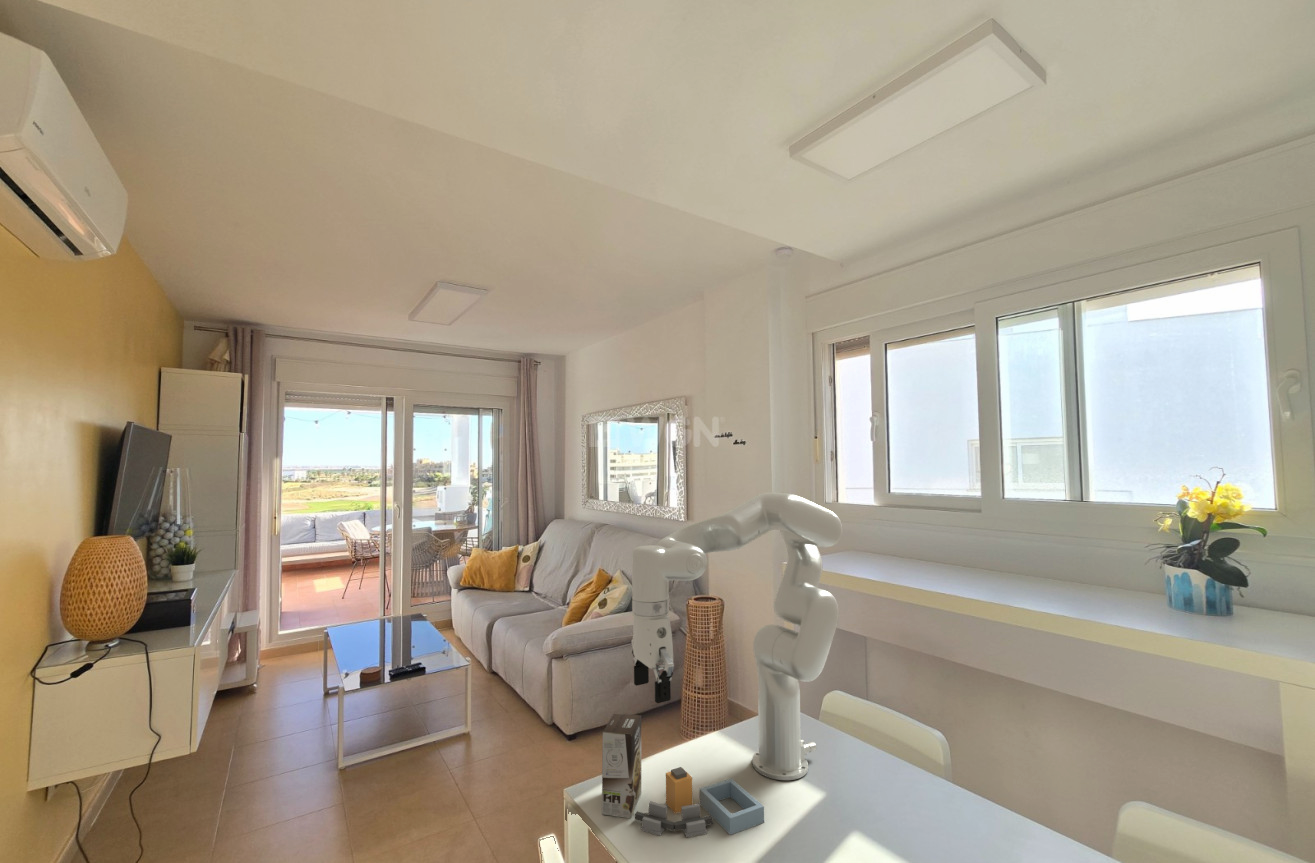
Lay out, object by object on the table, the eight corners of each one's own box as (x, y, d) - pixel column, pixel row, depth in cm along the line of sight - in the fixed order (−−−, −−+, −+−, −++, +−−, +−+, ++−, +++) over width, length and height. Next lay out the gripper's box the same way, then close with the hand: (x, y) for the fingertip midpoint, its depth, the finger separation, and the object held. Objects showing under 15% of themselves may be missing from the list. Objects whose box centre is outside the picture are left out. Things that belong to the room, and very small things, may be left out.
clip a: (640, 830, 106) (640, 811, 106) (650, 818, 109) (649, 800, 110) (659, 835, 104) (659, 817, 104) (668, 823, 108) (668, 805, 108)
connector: (682, 797, 116) (682, 764, 117) (692, 808, 113) (692, 773, 113) (665, 803, 114) (665, 768, 115) (675, 813, 111) (675, 778, 111)
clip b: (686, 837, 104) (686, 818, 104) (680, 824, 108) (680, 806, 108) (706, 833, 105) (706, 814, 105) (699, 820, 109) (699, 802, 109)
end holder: (731, 792, 118) (731, 778, 118) (764, 822, 108) (764, 806, 108) (699, 803, 114) (699, 788, 114) (730, 835, 104) (730, 818, 105)
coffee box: (632, 819, 109) (632, 734, 110) (600, 815, 110) (601, 731, 111) (642, 792, 118) (642, 714, 119) (613, 789, 119) (613, 712, 120)
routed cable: (712, 820, 108) (712, 815, 108) (712, 833, 104) (712, 827, 104) (635, 816, 109) (635, 811, 109) (632, 828, 105) (632, 823, 105)
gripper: (687, 614, 108) (689, 704, 107) (648, 596, 123) (649, 674, 122) (653, 620, 105) (654, 713, 104) (617, 600, 120) (618, 681, 119)
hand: (651, 692), depth 113 cm, fingers open, 9 cm apart
